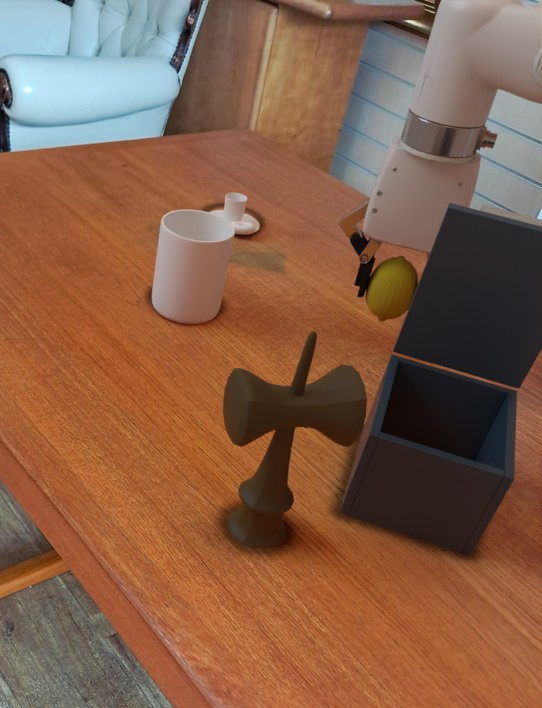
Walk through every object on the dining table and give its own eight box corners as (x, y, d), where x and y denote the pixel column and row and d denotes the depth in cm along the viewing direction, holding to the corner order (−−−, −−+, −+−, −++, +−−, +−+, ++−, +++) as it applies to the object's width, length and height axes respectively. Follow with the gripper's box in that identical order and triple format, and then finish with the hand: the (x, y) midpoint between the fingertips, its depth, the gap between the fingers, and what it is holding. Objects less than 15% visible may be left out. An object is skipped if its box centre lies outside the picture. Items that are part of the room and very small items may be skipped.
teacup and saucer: (256, 244, 110) (262, 215, 108) (200, 233, 111) (205, 204, 108) (260, 219, 117) (266, 192, 114) (208, 209, 117) (212, 181, 114)
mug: (161, 272, 100) (171, 191, 93) (225, 284, 100) (240, 204, 93) (145, 318, 91) (155, 233, 84) (215, 331, 91) (231, 247, 84)
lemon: (348, 317, 92) (367, 253, 87) (375, 304, 96) (394, 241, 90) (388, 338, 90) (410, 272, 84) (413, 324, 93) (436, 260, 88)
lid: (600, 246, 60) (601, 212, 63) (448, 207, 62) (456, 176, 65) (519, 389, 71) (523, 354, 74) (392, 352, 73) (402, 319, 76)
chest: (466, 563, 68) (514, 479, 62) (336, 520, 70) (369, 433, 63) (474, 472, 78) (517, 390, 71) (360, 436, 80) (391, 353, 73)
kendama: (318, 558, 66) (395, 355, 53) (208, 564, 64) (259, 355, 51) (296, 508, 71) (362, 309, 57) (192, 513, 68) (235, 307, 55)
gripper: (529, 143, 80) (465, 304, 92) (362, 108, 83) (321, 268, 95) (528, 165, 74) (460, 333, 87) (350, 127, 78) (309, 294, 90)
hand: (388, 298), depth 91 cm, fingers closed on lemon, 5 cm apart
